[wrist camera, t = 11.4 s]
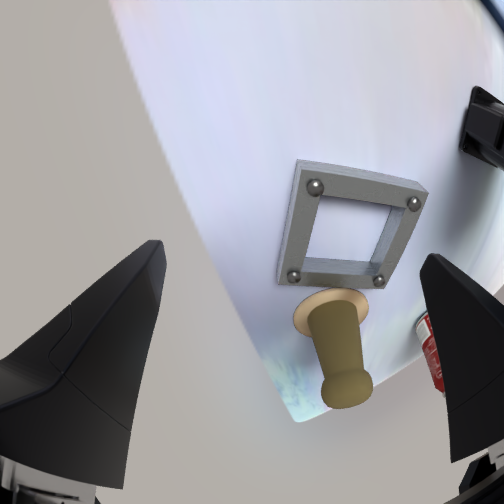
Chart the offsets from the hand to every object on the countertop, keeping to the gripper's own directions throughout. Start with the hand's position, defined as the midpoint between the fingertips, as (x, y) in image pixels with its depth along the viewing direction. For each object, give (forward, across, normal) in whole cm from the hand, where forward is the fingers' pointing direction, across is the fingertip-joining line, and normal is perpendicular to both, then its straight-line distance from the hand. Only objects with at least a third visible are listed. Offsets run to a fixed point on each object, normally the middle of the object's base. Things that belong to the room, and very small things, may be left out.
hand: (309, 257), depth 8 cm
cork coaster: (+13, -8, +19) cm, 25 cm away
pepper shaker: (+13, -8, +19) cm, 24 cm away
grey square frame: (+13, -7, +7) cm, 16 cm away
